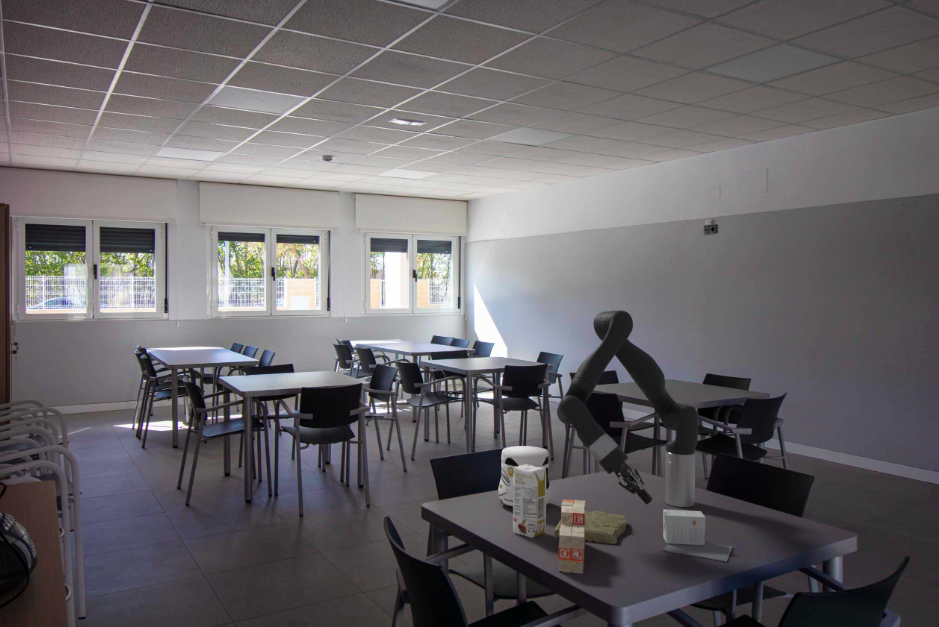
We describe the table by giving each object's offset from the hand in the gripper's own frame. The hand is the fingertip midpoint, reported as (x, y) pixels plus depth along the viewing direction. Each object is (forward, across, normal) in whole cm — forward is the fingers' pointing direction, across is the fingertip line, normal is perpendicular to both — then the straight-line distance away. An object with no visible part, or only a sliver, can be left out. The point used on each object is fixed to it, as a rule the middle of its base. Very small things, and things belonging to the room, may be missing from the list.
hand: (649, 502), depth 188 cm
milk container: (-23, +14, +39) cm, 47 cm away
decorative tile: (-4, +1, +20) cm, 21 cm away
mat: (+17, 0, -2) cm, 17 cm away
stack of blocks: (-2, -22, +19) cm, 29 cm away
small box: (+7, +2, +2) cm, 8 cm away
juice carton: (-15, -11, +30) cm, 35 cm away
